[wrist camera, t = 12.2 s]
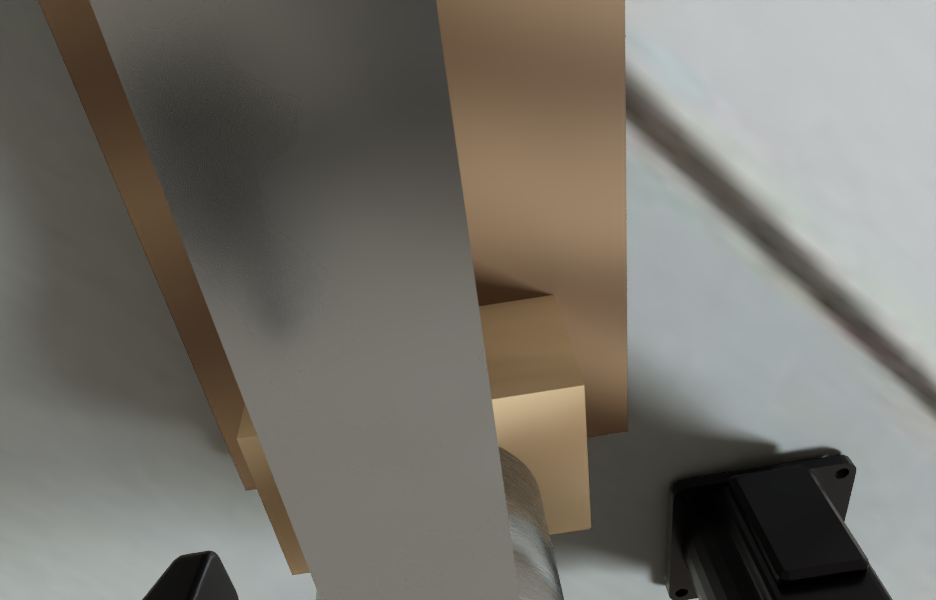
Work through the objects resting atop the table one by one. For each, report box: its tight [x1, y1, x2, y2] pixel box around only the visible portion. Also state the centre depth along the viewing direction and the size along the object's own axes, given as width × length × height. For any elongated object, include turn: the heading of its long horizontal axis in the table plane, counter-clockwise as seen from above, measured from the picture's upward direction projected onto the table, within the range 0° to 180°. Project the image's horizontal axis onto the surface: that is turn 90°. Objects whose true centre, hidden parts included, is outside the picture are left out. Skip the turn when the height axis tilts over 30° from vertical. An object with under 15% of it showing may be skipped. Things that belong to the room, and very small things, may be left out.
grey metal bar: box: [89, 0, 564, 600], centre depth 12 cm, size 26×6×4 cm, turn 7°
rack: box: [38, 0, 628, 575], centre depth 15 cm, size 24×12×5 cm, turn 7°
